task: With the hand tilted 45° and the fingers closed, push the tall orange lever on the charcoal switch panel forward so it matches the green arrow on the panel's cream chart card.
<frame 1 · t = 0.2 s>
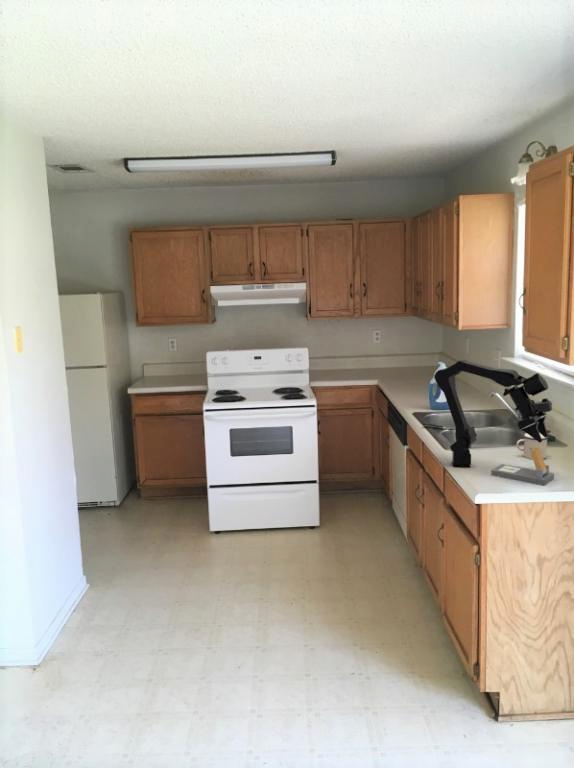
hand: (543, 439, 228), 15 cm above the worktop, tool tilted 30°, fingers open, 9 cm apart
teacup with lid: (531, 457, 258), on the worktop
switch panel: (542, 480, 228), on the worktop
orange lever: (539, 461, 228), point 7 cm above the worktop, hinge at -22.0°
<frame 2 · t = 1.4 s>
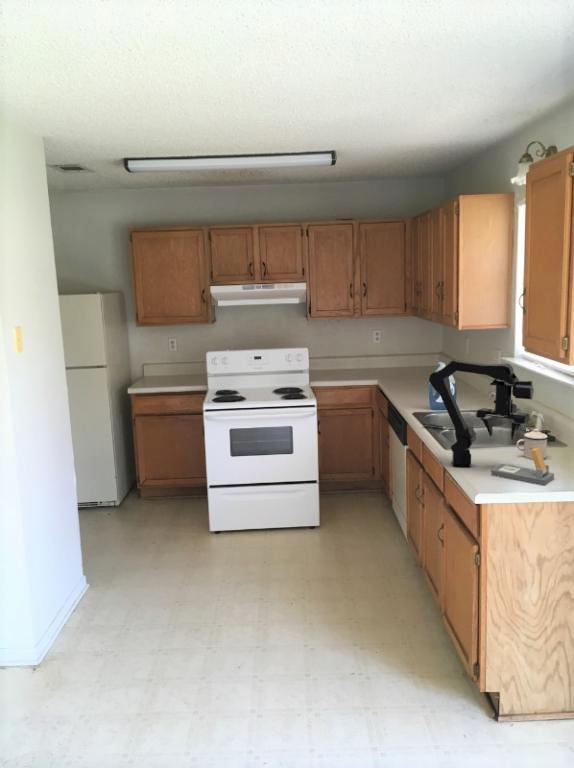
hand: (501, 437, 239), 13 cm above the worktop, tool pointing down, fingers open, 8 cm apart
nothing on the worktop moved.
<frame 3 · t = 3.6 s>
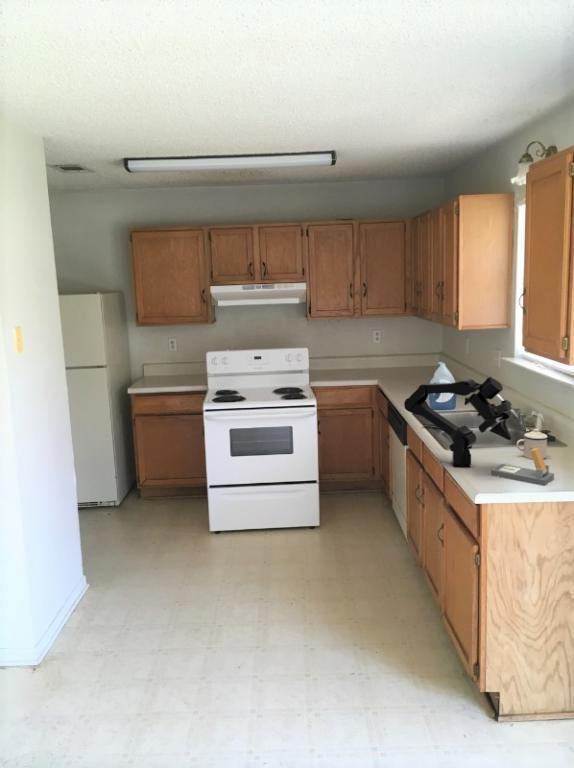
hand: (510, 439, 234), 14 cm above the worktop, tool tilted 45°, fingers closed
nothing on the worktop moved.
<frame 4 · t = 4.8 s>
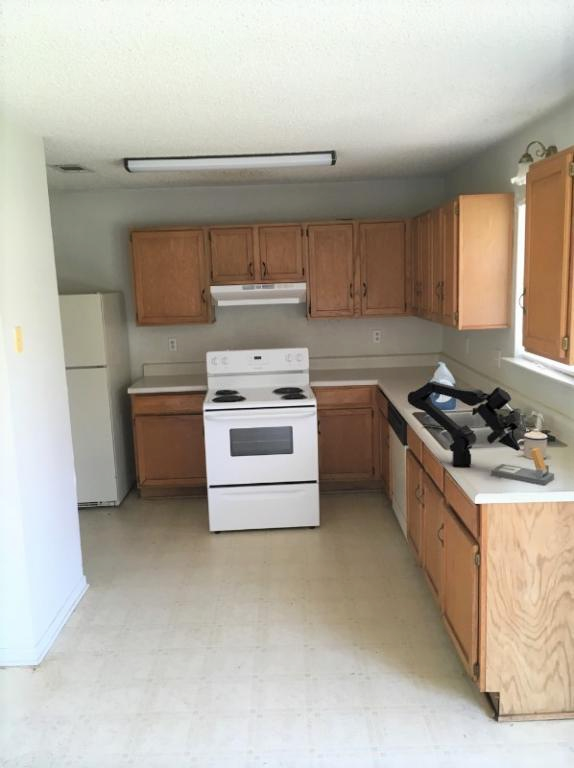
hand: (519, 450, 232), 10 cm above the worktop, tool tilted 45°, fingers closed
nothing on the worktop moved.
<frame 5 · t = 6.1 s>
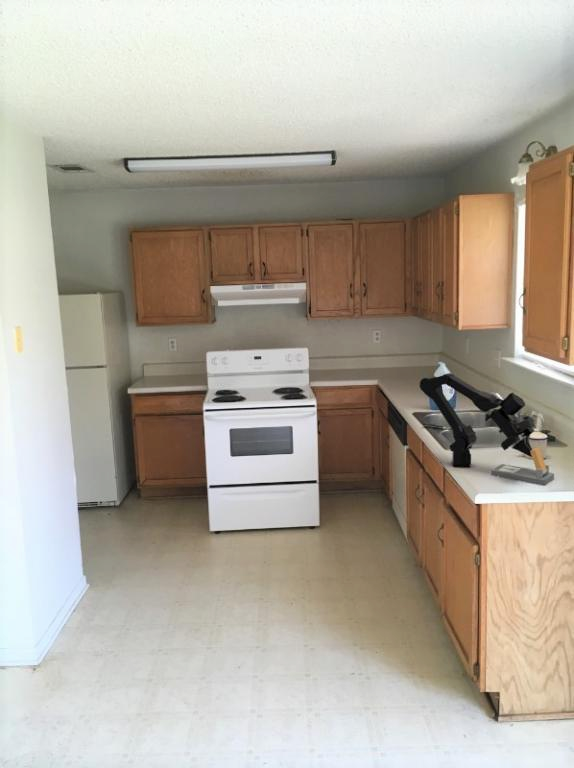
hand: (533, 456, 229), 9 cm above the worktop, tool tilted 45°, fingers closed, pressing on orange lever
orange lever: (539, 461, 228), point 7 cm above the worktop, hinge at -21.9°, touching gripper
everything else where it was.
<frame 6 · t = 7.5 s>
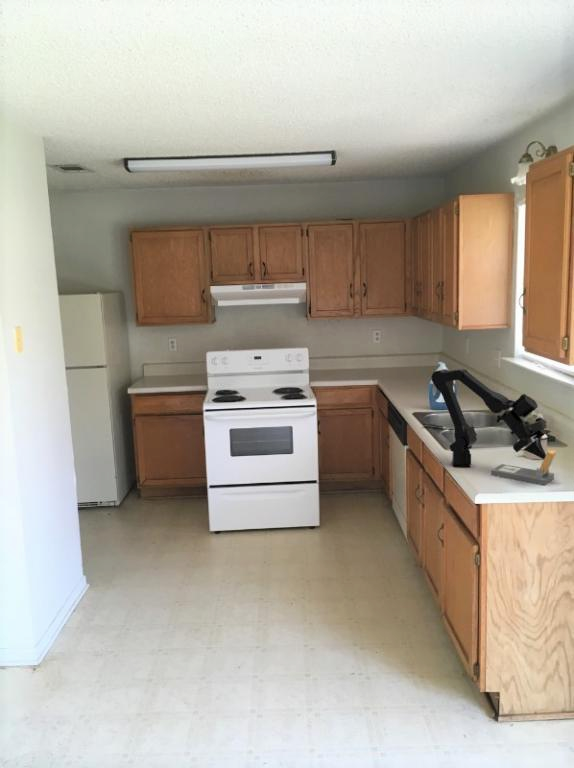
hand: (545, 458, 226), 8 cm above the worktop, tool tilted 45°, fingers closed, pressing on orange lever
orange lever: (546, 463, 226), point 7 cm above the worktop, hinge at 20.1°, touching gripper
everything else where it was.
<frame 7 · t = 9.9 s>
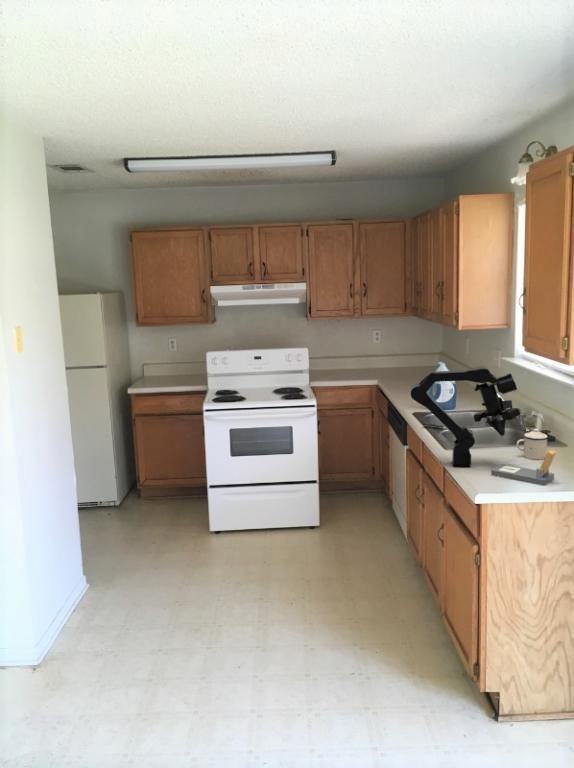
hand: (503, 435, 244), 13 cm above the worktop, tool tilted 20°, fingers closed
orange lever: (546, 463, 226), point 7 cm above the worktop, hinge at 20.4°
everything else where it was.
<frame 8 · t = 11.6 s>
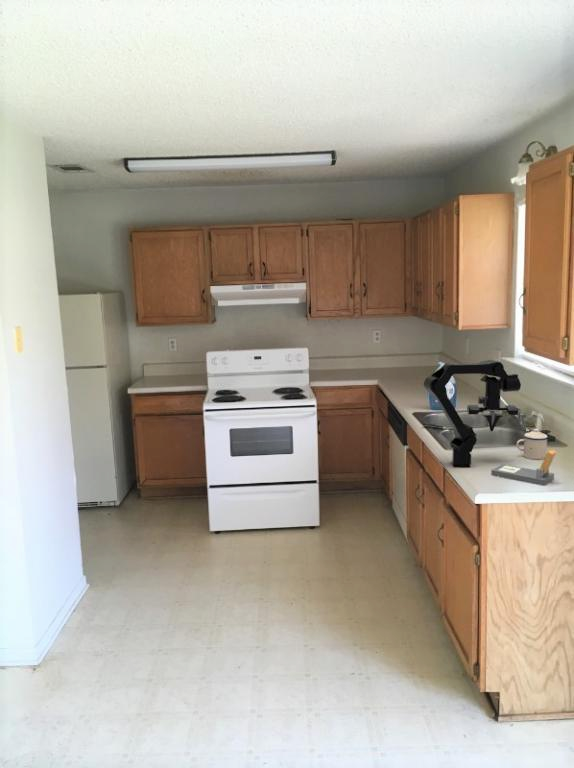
hand: (491, 431, 249), 13 cm above the worktop, tool pointing down, fingers closed
nothing on the worktop moved.
at the end: orange lever at +20° (first picture: -22°); teacup with lid moved 0.2 cm from its start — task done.
